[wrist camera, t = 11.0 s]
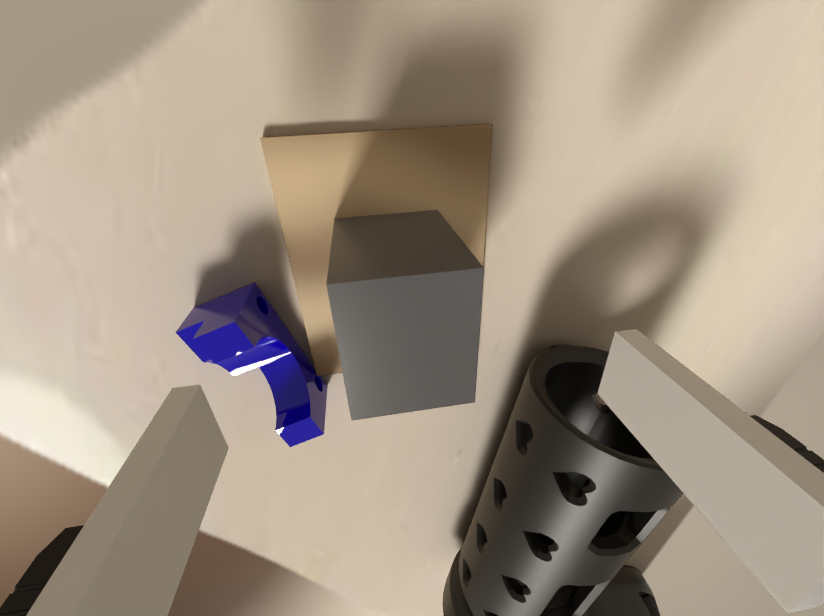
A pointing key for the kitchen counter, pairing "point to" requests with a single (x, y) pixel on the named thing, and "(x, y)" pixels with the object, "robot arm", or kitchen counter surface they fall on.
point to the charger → (404, 312)
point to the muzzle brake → (558, 499)
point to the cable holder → (260, 356)
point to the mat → (370, 199)
